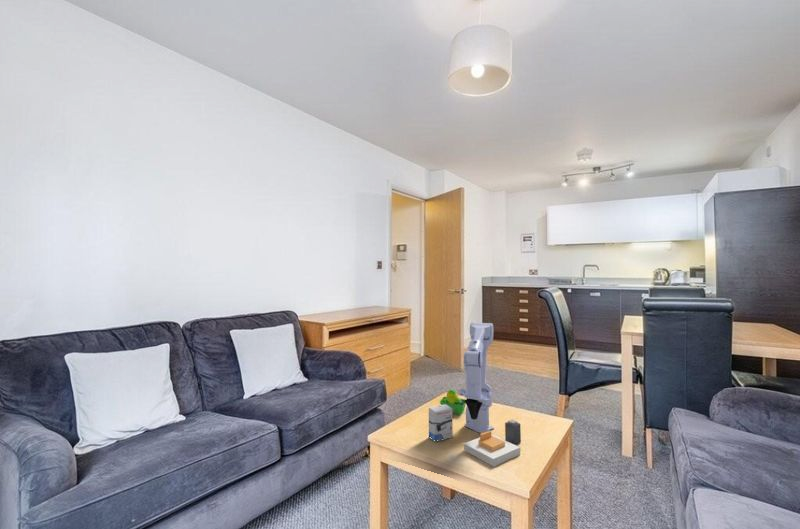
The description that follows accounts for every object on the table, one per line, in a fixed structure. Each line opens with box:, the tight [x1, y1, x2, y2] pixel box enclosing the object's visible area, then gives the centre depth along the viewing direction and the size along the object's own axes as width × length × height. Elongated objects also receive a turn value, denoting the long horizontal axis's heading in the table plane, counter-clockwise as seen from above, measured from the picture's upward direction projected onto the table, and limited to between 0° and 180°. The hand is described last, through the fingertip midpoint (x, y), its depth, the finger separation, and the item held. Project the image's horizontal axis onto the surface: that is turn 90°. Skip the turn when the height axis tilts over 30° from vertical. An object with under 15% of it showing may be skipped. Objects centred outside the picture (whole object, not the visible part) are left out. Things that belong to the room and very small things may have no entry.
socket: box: [463, 433, 521, 467], centre depth 134 cm, size 14×14×2 cm
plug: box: [504, 419, 522, 445], centre depth 143 cm, size 4×4×8 cm
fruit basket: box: [439, 388, 466, 415], centre depth 174 cm, size 11×9×11 cm
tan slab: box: [478, 430, 505, 451], centre depth 134 cm, size 7×7×4 cm
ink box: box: [428, 404, 454, 442], centre depth 147 cm, size 8×5×12 cm, turn 117°
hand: (474, 418), depth 142 cm, fingers closed
